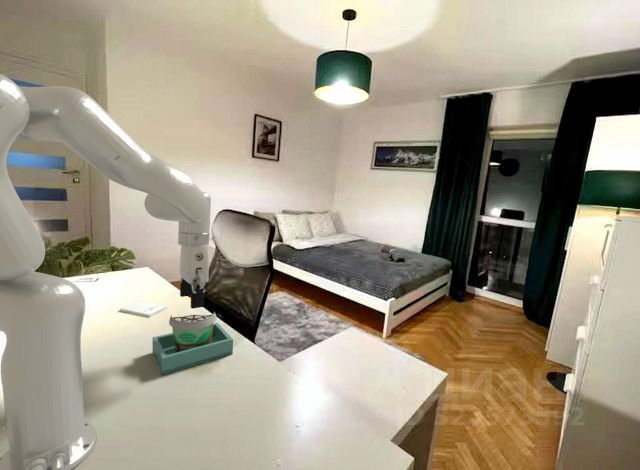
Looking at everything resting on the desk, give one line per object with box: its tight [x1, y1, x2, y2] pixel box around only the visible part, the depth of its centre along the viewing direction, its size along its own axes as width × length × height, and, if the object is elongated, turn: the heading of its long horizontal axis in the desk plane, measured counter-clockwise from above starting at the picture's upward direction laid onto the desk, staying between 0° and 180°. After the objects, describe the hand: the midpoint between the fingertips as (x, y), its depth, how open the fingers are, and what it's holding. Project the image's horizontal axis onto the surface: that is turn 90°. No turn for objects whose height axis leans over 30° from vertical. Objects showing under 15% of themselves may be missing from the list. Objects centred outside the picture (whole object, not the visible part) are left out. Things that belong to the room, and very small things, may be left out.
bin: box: [152, 322, 234, 376], centre depth 84 cm, size 12×18×4 cm, turn 129°
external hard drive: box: [119, 300, 168, 318], centre depth 109 cm, size 2×8×12 cm
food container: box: [168, 311, 217, 352], centre depth 82 cm, size 12×6×10 cm, turn 108°
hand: (191, 301), depth 81 cm, fingers open, 9 cm apart
